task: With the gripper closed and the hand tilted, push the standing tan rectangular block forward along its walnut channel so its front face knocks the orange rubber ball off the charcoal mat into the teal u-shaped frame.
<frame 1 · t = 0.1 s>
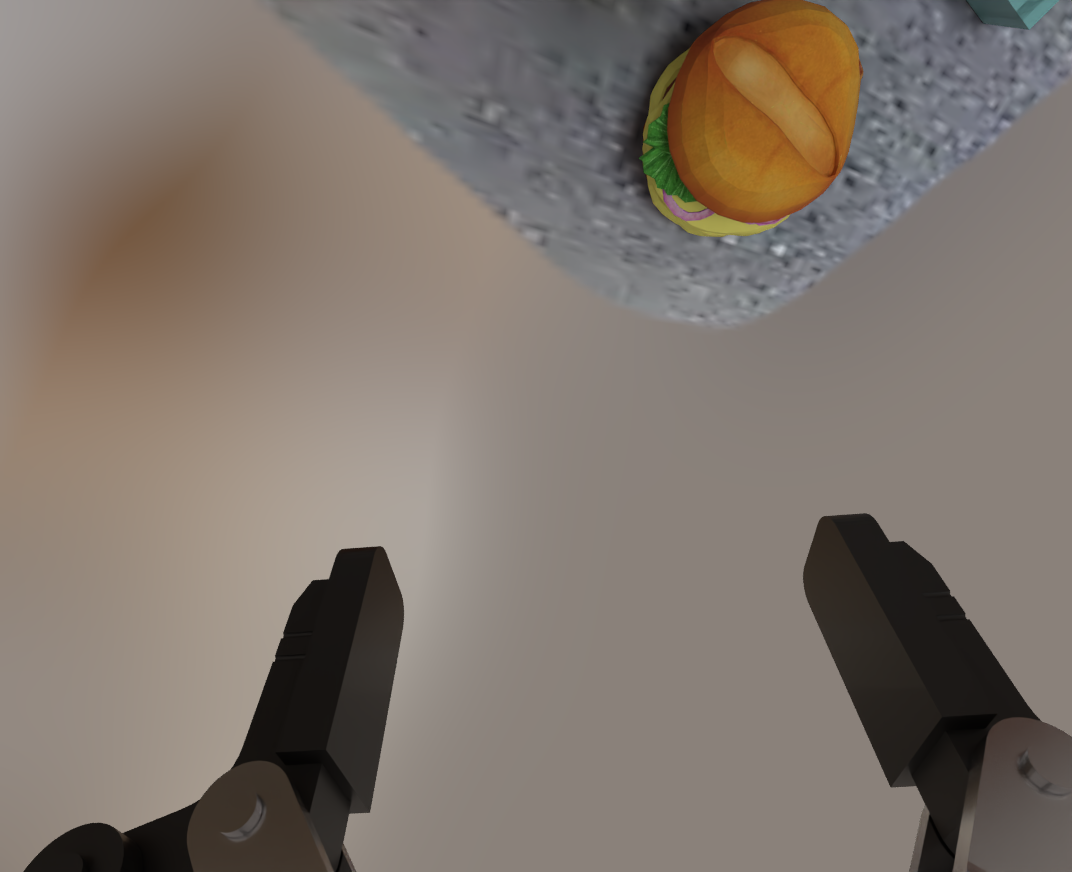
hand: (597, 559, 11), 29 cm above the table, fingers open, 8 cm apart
cheeseburger: (720, 121, 33), on the table
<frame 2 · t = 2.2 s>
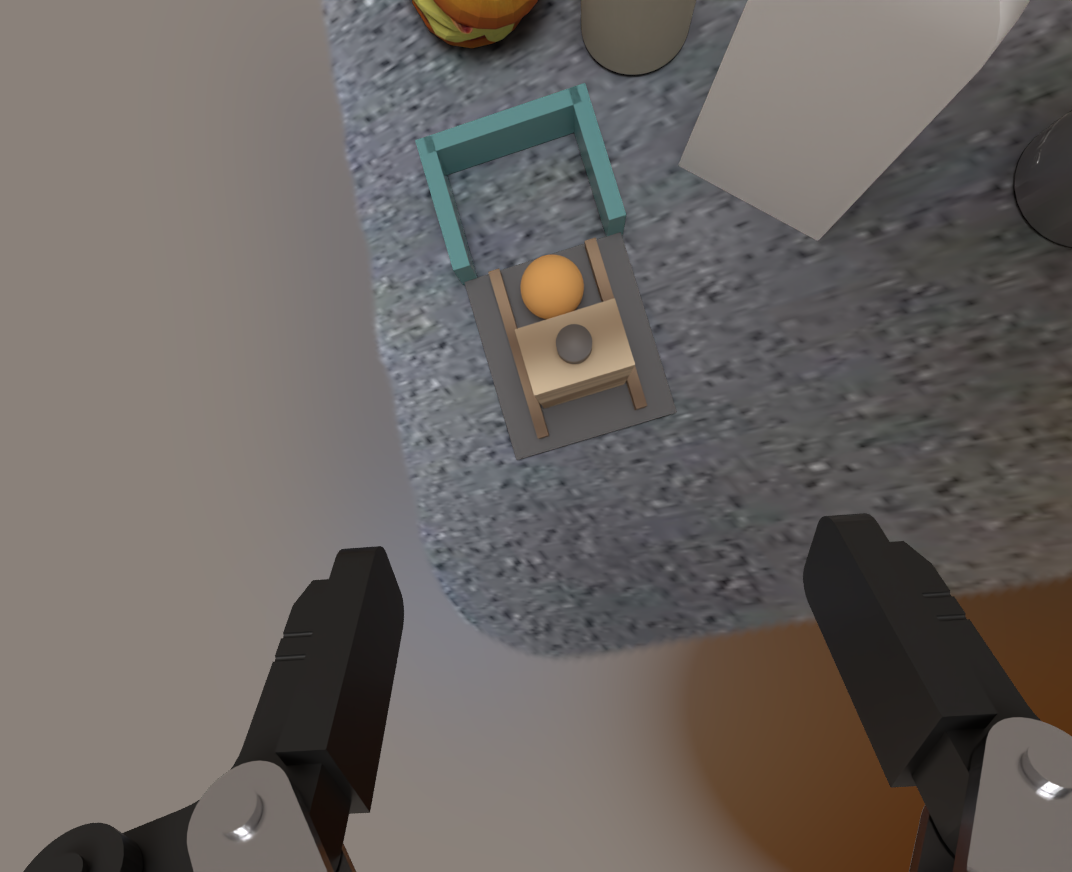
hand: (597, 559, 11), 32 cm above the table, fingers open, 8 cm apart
mat: (568, 347, 44), on the table
travel mug: (634, 27, 44), on the table
cheeseburger: (483, 0, 45), on the table
teal u-shaped frame: (525, 203, 44), on the table
milk: (788, 133, 43), on the table
channel: (576, 370, 43), resting on mat
ball: (552, 287, 41), point 3 cm above the table, touching mat
tan rectangular block: (575, 358, 38), point 6 cm above the table, slide at 0.0 cm
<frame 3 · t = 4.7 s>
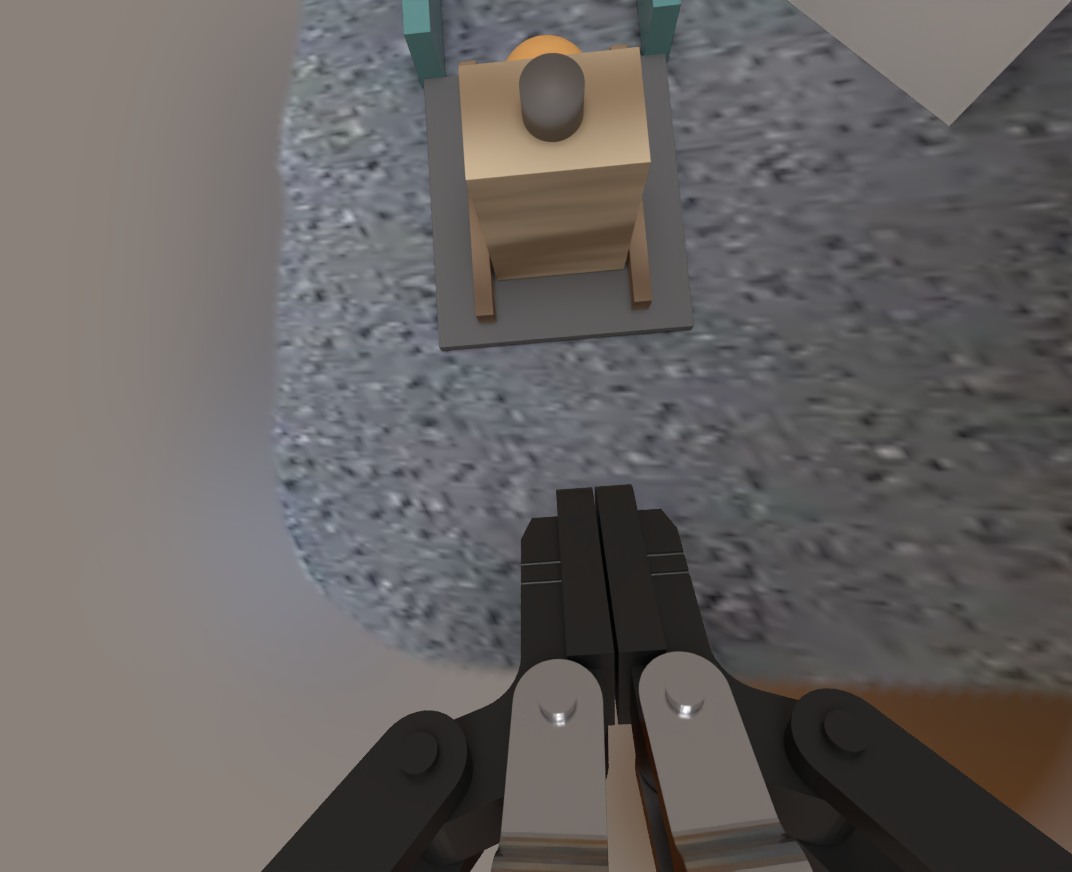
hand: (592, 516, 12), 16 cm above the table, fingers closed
mat: (554, 204, 29), on the table
channel: (557, 235, 28), resting on mat
ball: (546, 93, 27), point 3 cm above the table, touching mat
tan rectangular block: (555, 175, 23), point 6 cm above the table, slide at 0.0 cm
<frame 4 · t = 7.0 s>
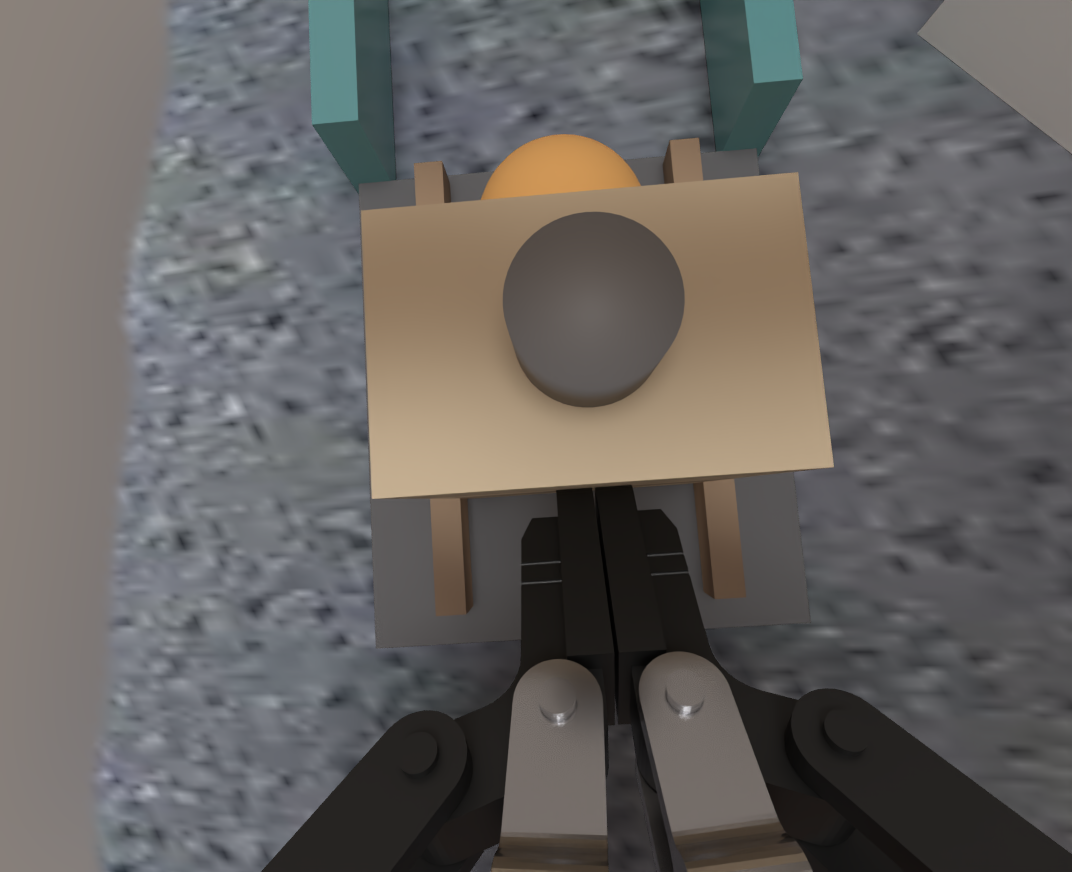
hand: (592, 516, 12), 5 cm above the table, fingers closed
mat: (571, 394, 18), on the table
teal u-shaped frame: (545, 43, 19), on the table
channel: (576, 455, 17), resting on mat
ball: (562, 229, 15), point 3 cm above the table, touching mat
tan rectangular block: (579, 386, 12), point 6 cm above the table, slide at 1.0 cm, touching gripper
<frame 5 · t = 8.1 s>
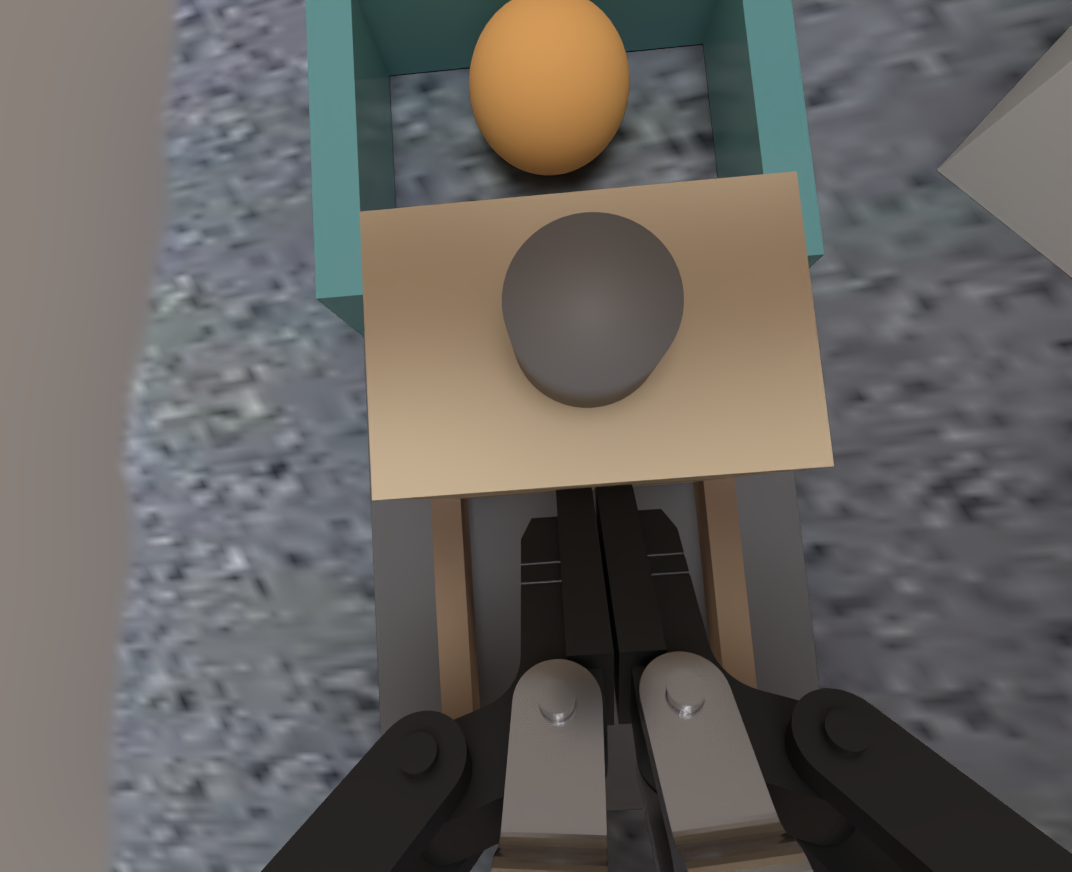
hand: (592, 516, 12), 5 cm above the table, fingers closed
mat: (583, 549, 17), on the table
teal u-shaped frame: (554, 178, 18), on the table
channel: (590, 620, 16), resting on mat
ball: (549, 88, 16), point 2 cm above the table, tilted 120°
tan rectangular block: (579, 386, 12), point 6 cm above the table, slide at 5.6 cm, touching gripper
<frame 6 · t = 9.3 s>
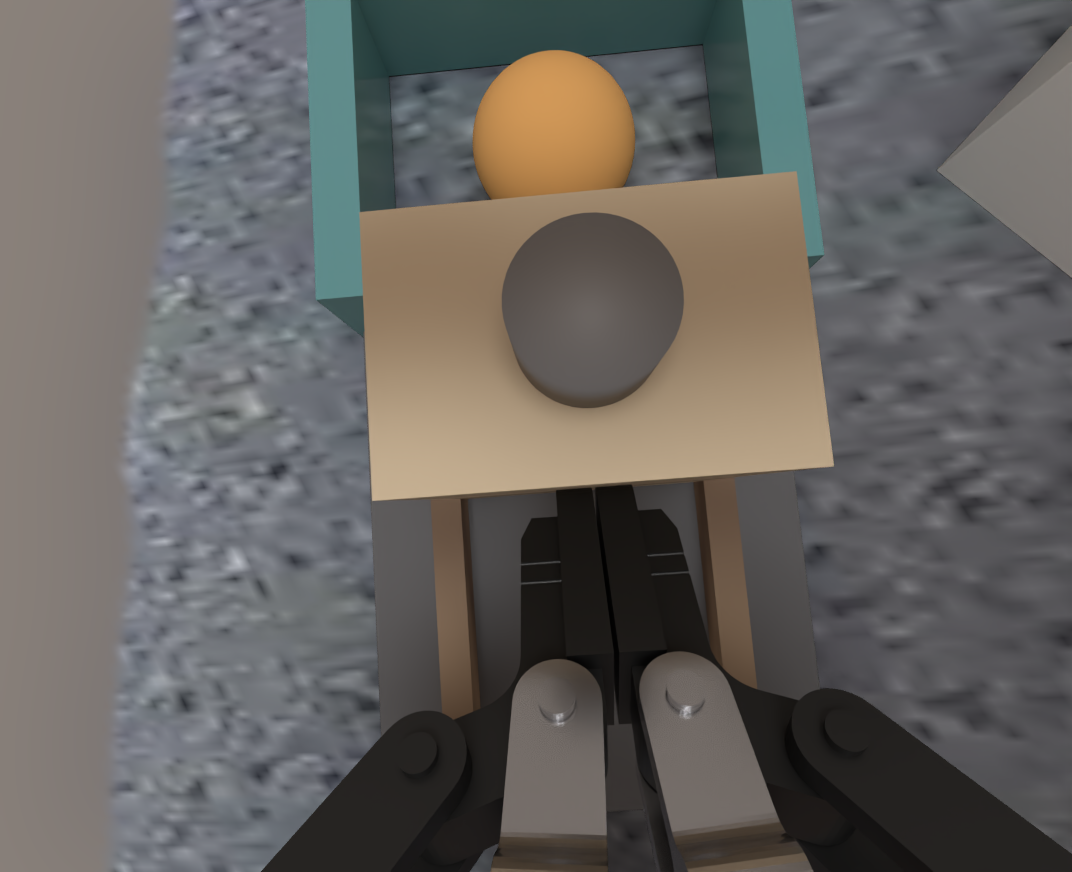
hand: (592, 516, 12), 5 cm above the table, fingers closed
mat: (584, 550, 17), on the table
teal u-shaped frame: (553, 179, 18), on the table
channel: (590, 620, 16), resting on mat
ball: (553, 146, 16), point 2 cm above the table, tilted 164°
tan rectangular block: (579, 386, 12), point 6 cm above the table, slide at 5.6 cm, touching gripper
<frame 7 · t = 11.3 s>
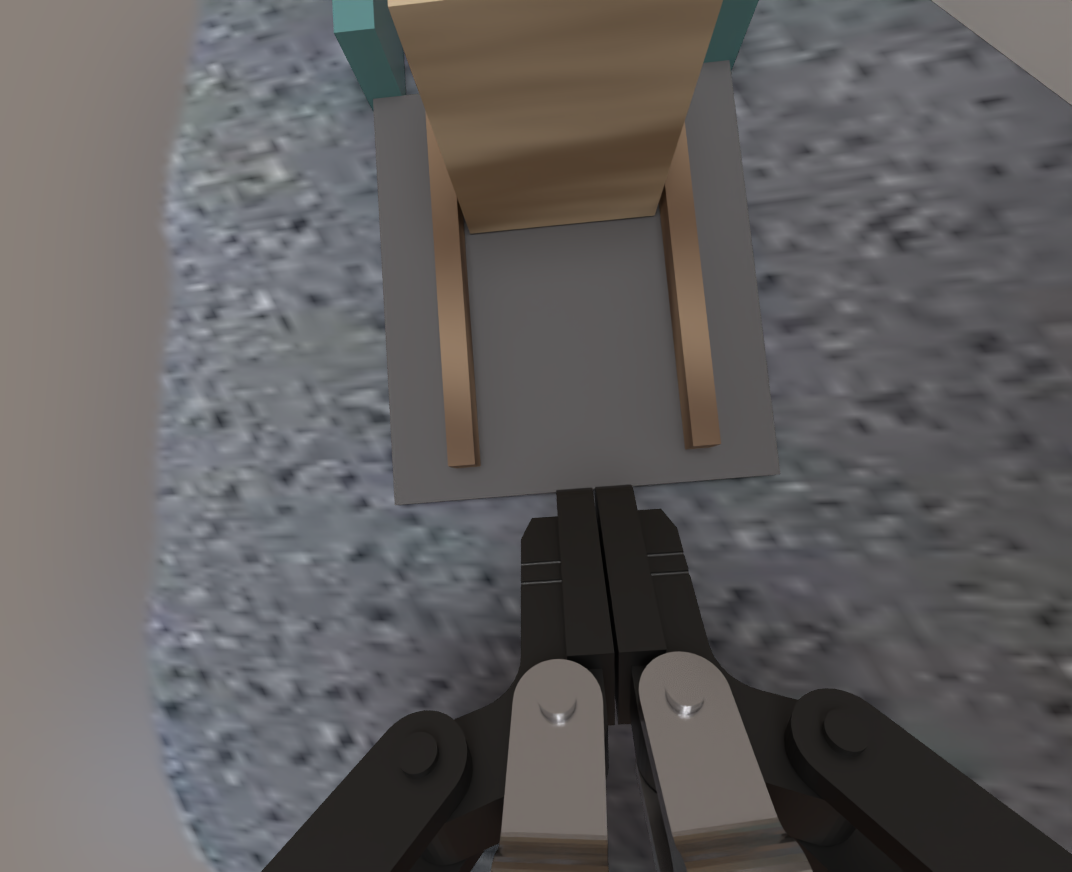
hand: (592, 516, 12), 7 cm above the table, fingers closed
mat: (566, 283, 20), on the table
channel: (571, 333, 19), resting on mat
tan rectangular block: (553, 46, 14), point 6 cm above the table, slide at 5.6 cm
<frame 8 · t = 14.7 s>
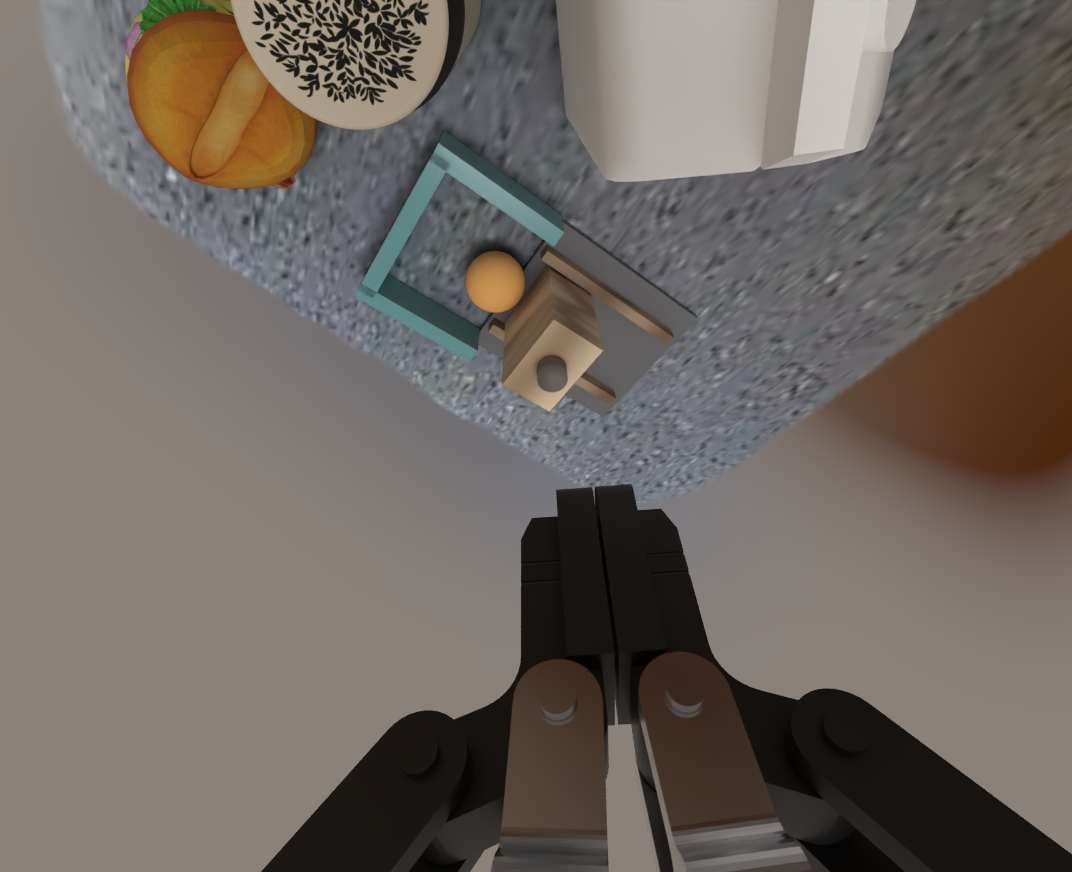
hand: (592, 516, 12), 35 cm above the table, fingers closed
mat: (583, 326, 48), on the table
cheeseburger: (241, 85, 38), on the table
teal u-shaped frame: (464, 249, 44), on the table
channel: (602, 341, 49), resting on mat
ball: (495, 282, 44), point 2 cm above the table, tilted 129°
tan rectangular block: (549, 339, 42), point 6 cm above the table, slide at 5.6 cm
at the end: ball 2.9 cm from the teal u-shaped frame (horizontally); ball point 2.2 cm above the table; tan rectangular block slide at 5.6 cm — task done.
